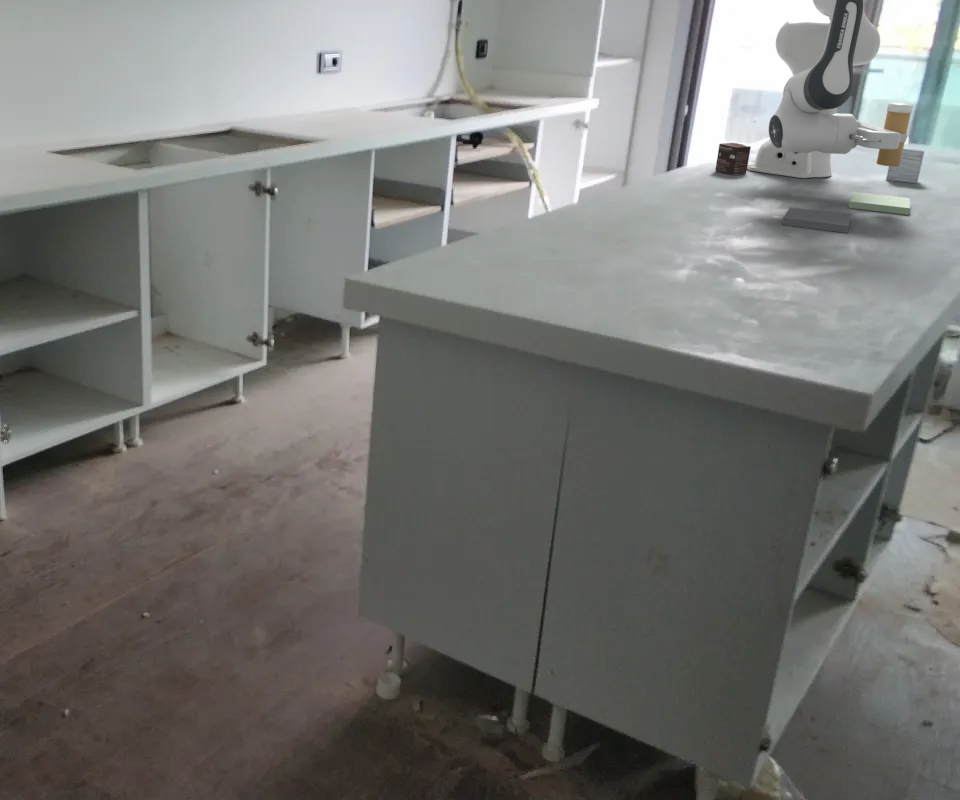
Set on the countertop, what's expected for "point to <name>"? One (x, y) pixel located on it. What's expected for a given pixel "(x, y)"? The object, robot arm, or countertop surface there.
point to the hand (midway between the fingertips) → (897, 135)
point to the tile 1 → (817, 219)
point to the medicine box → (907, 166)
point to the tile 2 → (880, 203)
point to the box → (732, 158)
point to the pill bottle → (898, 123)
